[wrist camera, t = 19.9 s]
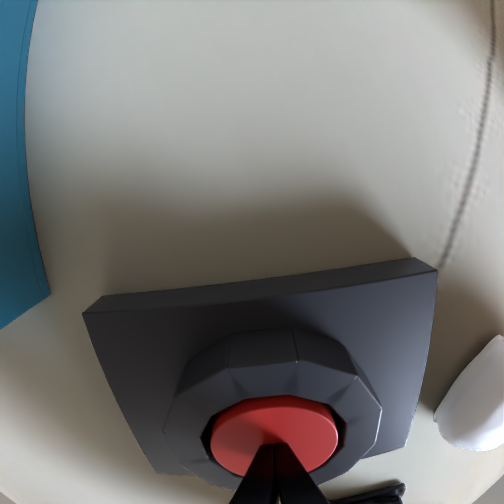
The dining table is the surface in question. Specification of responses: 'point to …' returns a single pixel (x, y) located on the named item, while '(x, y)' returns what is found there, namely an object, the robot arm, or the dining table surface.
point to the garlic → (476, 402)
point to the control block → (269, 358)
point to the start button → (273, 430)
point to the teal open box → (16, 171)
